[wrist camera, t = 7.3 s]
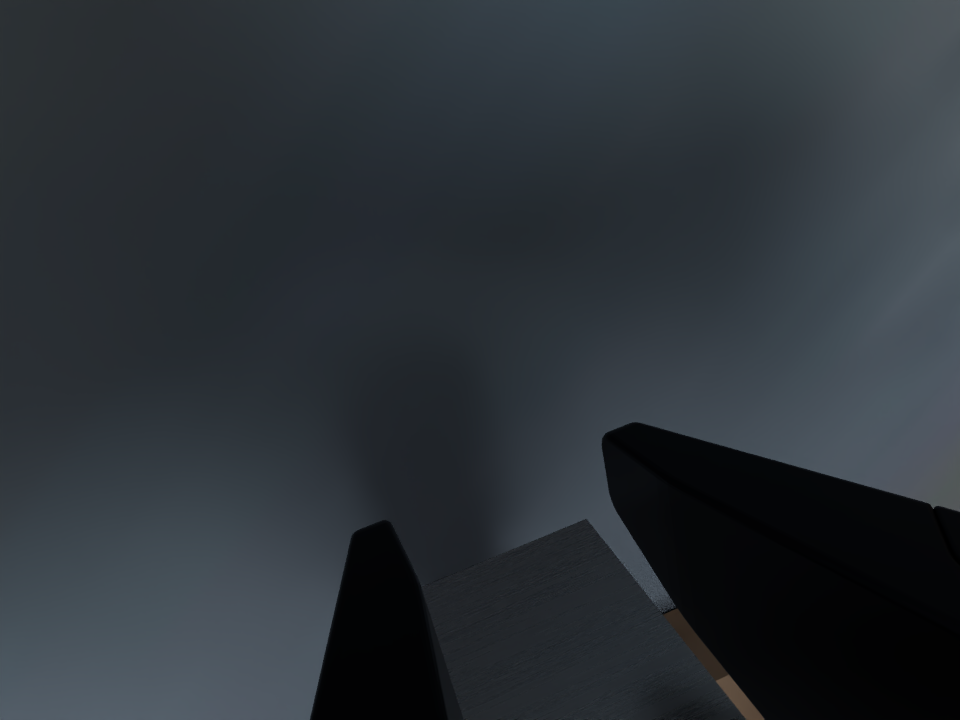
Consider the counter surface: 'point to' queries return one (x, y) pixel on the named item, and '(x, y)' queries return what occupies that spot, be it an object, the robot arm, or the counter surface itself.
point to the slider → (566, 639)
